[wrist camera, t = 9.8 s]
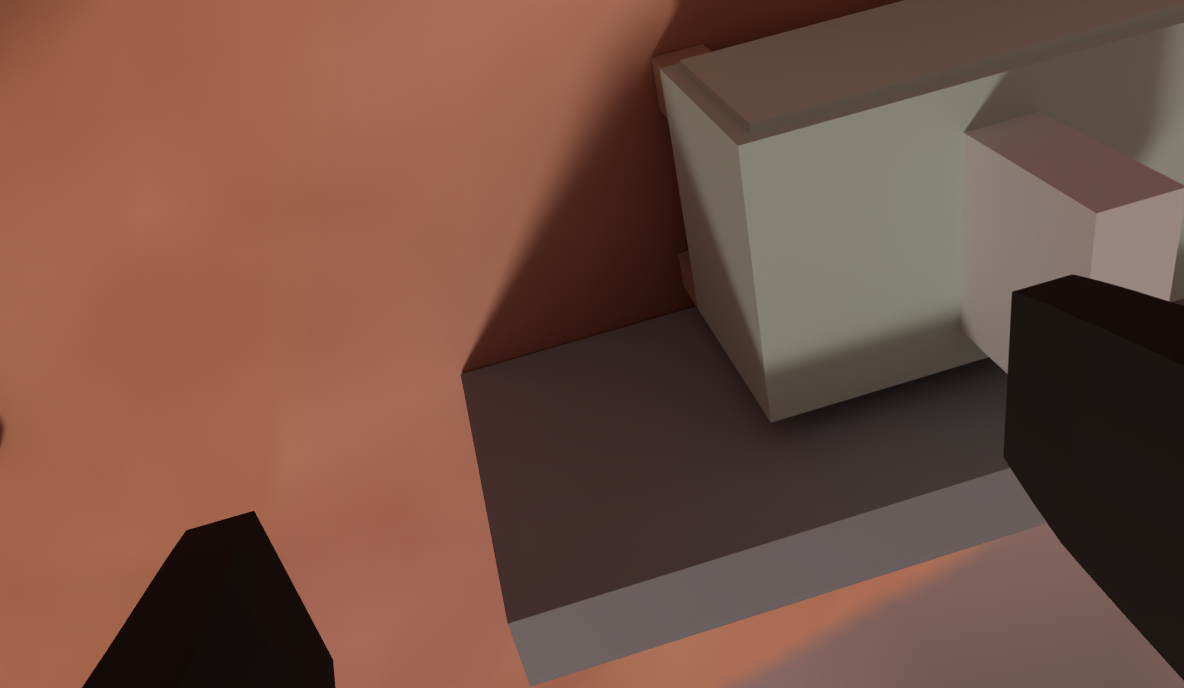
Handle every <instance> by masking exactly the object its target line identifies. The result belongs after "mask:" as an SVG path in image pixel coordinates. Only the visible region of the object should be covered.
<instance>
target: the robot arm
mask: <svg viewBox="0 0 1184 688" xmlns="http://www.w3.org/2000/svg"><path fill="white" fill-rule="evenodd" d="M1003 458H1004V459H1005V461H1006V462H1007V464H1008V465H1009V467H1010V468H1011V470H1012V471H1013V473H1014V474H1015V476H1016V478H1017V479H1018V481H1019V482H1020V484H1021V485H1022V487H1023V488H1024V490H1025V491H1026V493H1027V494H1028V496H1029V497H1030V499H1031V500H1032V502H1033V504H1034V505H1035V506H1036V508H1037V509H1038V511H1039V512H1040V513H1041V515H1042V516H1043V518H1044V519H1045V521H1046V522H1047V523H1048V525H1049V526H1050V528H1051V529H1052V530H1053V532H1054V533H1055V535H1056V536H1057V538H1058V539H1059V540H1060V542H1061V543H1062V544H1063V545H1064V547H1065V548H1066V549H1067V550H1068V551H1069V552H1070V553H1071V555H1072V556H1073V557H1074V558H1075V559H1076V561H1077V562H1078V563H1079V564H1080V565H1081V566H1082V567H1083V569H1084V570H1085V571H1086V572H1087V573H1088V574H1089V575H1090V576H1091V577H1092V579H1093V580H1094V581H1095V582H1096V583H1097V584H1098V585H1099V587H1100V588H1101V589H1102V590H1103V591H1104V592H1105V593H1106V595H1107V596H1108V597H1109V598H1110V599H1111V600H1112V601H1113V602H1114V603H1115V605H1116V606H1117V607H1118V608H1119V609H1120V610H1121V611H1122V613H1123V614H1124V615H1125V616H1126V617H1127V618H1128V619H1129V620H1130V621H1131V622H1132V624H1133V625H1134V626H1135V627H1136V628H1137V629H1138V630H1139V631H1140V632H1141V634H1142V635H1143V636H1144V637H1145V638H1146V639H1147V640H1148V641H1149V642H1150V644H1151V645H1152V646H1153V647H1154V648H1155V649H1156V650H1157V651H1158V652H1159V653H1160V655H1161V656H1162V657H1163V658H1164V659H1165V660H1166V661H1167V662H1168V664H1169V665H1170V666H1171V667H1172V668H1173V669H1174V670H1175V671H1176V672H1177V674H1178V675H1179V676H1180V677H1181V678H1182V679H1183V680H1184V306H1182V305H1179V304H1176V303H1173V302H1170V301H1166V300H1163V299H1160V298H1157V297H1153V296H1150V295H1147V294H1144V293H1140V292H1137V291H1134V290H1130V289H1127V288H1124V287H1120V286H1117V285H1113V284H1110V283H1106V282H1102V281H1099V280H1094V279H1090V278H1086V277H1082V276H1078V275H1073V274H1072V275H1068V276H1065V277H1061V278H1058V279H1054V280H1051V281H1047V282H1044V283H1040V284H1037V285H1034V286H1030V287H1027V288H1023V289H1020V290H1016V291H1013V292H1012V299H1011V318H1010V338H1009V357H1008V377H1007V396H1006V415H1005V435H1004V454H1003ZM82 688H335V678H334V667H333V659H332V657H331V655H330V653H329V651H328V649H327V648H326V646H325V644H324V642H323V640H322V638H321V636H320V634H319V632H318V631H317V629H316V627H315V625H314V623H313V621H312V619H311V617H310V615H309V614H308V612H307V610H306V608H305V606H304V604H303V602H302V600H301V598H300V597H299V595H298V593H297V591H296V589H295V587H294V585H293V583H292V581H291V580H290V578H289V576H288V574H287V572H286V570H285V568H284V566H283V564H282V563H281V561H280V559H279V557H278V555H277V553H276V551H275V549H274V547H273V546H272V544H271V542H270V540H269V538H268V536H267V534H266V532H265V530H264V529H263V527H262V525H261V523H260V521H259V519H258V517H257V515H256V513H255V512H254V511H252V512H248V513H245V514H241V515H238V516H234V517H231V518H227V519H224V520H221V521H217V522H214V523H210V524H207V525H203V526H200V527H196V528H193V529H189V530H186V532H185V533H184V534H183V536H182V537H181V539H180V540H179V542H178V543H177V544H176V546H175V547H174V549H173V550H172V552H171V553H170V555H169V556H168V557H167V559H166V560H165V562H164V564H163V565H162V567H161V568H160V570H159V571H158V573H157V574H156V576H155V577H154V579H153V580H152V582H151V583H150V585H149V586H148V588H147V590H146V591H145V593H144V594H143V596H142V597H141V599H140V600H139V602H138V603H137V605H136V607H135V608H134V610H133V611H132V613H131V614H130V616H129V617H128V619H127V620H126V622H125V624H124V625H123V627H122V628H121V630H120V631H119V633H118V634H117V636H116V637H115V639H114V640H113V642H112V644H111V645H110V647H109V648H108V650H107V651H106V653H105V654H104V656H103V657H102V659H101V660H100V662H99V663H98V665H97V666H96V668H95V669H94V671H93V672H92V674H91V675H90V677H89V678H88V680H87V681H86V683H85V684H84V686H83V687H82Z"/></svg>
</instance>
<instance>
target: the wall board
mask: <svg viewBox="0 0 1184 688" xmlns="http://www.w3.org/2000/svg"><path fill="white" fill-rule="evenodd" d="M1173 303H1176V304H1179V305H1182V306H1184V299H1180V300H1177V301H1174V302H1173ZM1007 377H1008V374H1007V373H1006V372H1005V371H1004V370H1003V369H1002V368H1001V367H999V366H998V365H997V364H996V363H995V362H994V361H993V360H992V359H991V358H990V357H988V358H984V359H981V360H978V361H974V362H971V363H968V364H964V365H961V366H958V367H954V368H951V369H948V370H944V371H941V372H938V373H934V374H931V375H928V376H925V377H921V378H918V379H915V380H911V381H908V382H905V383H901V384H898V385H895V386H891V387H888V388H885V389H881V390H878V391H875V392H871V393H868V394H865V395H861V396H858V397H855V398H851V399H848V400H845V401H841V402H838V403H835V404H831V405H828V406H825V407H821V408H818V409H815V410H812V411H808V412H805V413H802V414H798V415H795V416H792V417H788V418H785V419H782V420H778V421H775V422H772V423H771V422H770V421H769V419H768V417H767V416H766V414H765V413H764V411H763V410H762V408H761V407H760V405H759V403H758V402H757V400H756V399H755V397H754V396H753V394H752V393H751V391H750V389H749V388H748V386H747V385H746V383H745V382H744V380H743V378H742V377H741V375H740V374H739V372H738V371H737V369H736V368H735V366H734V364H733V363H732V361H731V360H730V358H729V357H728V355H727V353H726V352H725V350H724V349H723V347H722V346H721V344H720V343H719V341H718V339H717V338H716V336H715V335H714V333H713V332H712V330H711V329H710V327H709V325H708V324H707V322H706V321H705V319H704V318H703V316H702V314H701V313H700V311H699V310H698V308H697V307H696V306H695V307H692V308H688V309H685V310H681V311H678V312H675V313H671V314H668V315H664V316H661V317H657V318H654V319H650V320H647V321H643V322H640V323H636V324H633V325H630V326H626V327H623V328H619V329H616V330H612V331H609V332H605V333H602V334H598V335H595V336H591V337H588V338H585V339H581V340H578V341H574V342H571V343H567V344H564V345H560V346H557V347H553V348H550V349H546V350H543V351H539V352H536V353H533V354H529V355H526V356H522V357H519V358H515V359H512V360H508V361H505V362H501V363H498V364H494V365H491V366H488V367H484V368H481V369H477V370H474V371H470V372H467V373H463V374H461V378H462V383H463V389H464V394H465V399H466V405H467V410H468V415H469V421H470V426H471V431H472V436H473V442H474V447H475V452H476V458H477V463H478V468H479V474H480V479H481V484H482V490H483V495H484V500H485V505H486V511H487V516H488V521H489V527H490V532H491V537H492V543H493V548H494V553H495V558H496V564H497V569H498V574H499V580H500V585H501V590H502V596H503V601H504V606H505V611H506V617H507V622H508V626H509V628H510V631H511V634H512V637H513V639H514V642H515V645H516V648H517V650H518V653H519V656H520V659H521V661H522V664H523V667H524V670H525V672H526V675H527V678H528V681H529V683H530V686H534V685H537V684H540V683H543V682H546V681H549V680H553V679H556V678H559V677H562V676H565V675H568V674H571V673H575V672H578V671H581V670H584V669H587V668H590V667H594V666H597V665H600V664H603V663H606V662H609V661H613V660H616V659H619V658H622V657H625V656H628V655H632V654H635V653H638V652H641V651H644V650H647V649H651V648H654V647H657V646H660V645H663V644H666V643H669V642H673V641H676V640H679V639H682V638H685V637H688V636H692V635H695V634H698V633H701V632H704V631H707V630H711V629H714V628H717V627H720V626H723V625H726V624H730V623H733V622H736V621H739V620H742V619H745V618H749V617H752V616H755V615H758V614H761V613H764V612H767V611H771V610H774V609H777V608H780V607H783V606H786V605H790V604H793V603H796V602H799V601H802V600H805V599H809V598H812V597H815V596H818V595H821V594H824V593H828V592H831V591H834V590H837V589H840V588H843V587H847V586H850V585H853V584H856V583H859V582H862V581H865V580H869V579H872V578H875V577H878V576H881V575H884V574H888V573H891V572H894V571H897V570H900V569H903V568H907V567H910V566H913V565H916V564H919V563H922V562H926V561H929V560H932V559H935V558H938V557H941V556H944V555H948V554H951V553H954V552H957V551H960V550H963V549H967V548H970V547H973V546H976V545H979V544H982V543H986V542H989V541H992V540H995V539H998V538H1001V537H1005V536H1008V535H1011V534H1014V533H1017V532H1020V531H1024V530H1027V529H1030V528H1033V527H1036V526H1039V525H1042V524H1046V523H1047V522H1046V521H1045V519H1044V518H1043V516H1042V515H1041V513H1040V512H1039V511H1038V509H1037V508H1036V506H1035V505H1034V504H1033V502H1032V500H1031V499H1030V497H1029V496H1028V494H1027V493H1026V491H1025V490H1024V488H1023V487H1022V485H1021V484H1020V482H1019V481H1018V479H1017V478H1016V476H1015V474H1014V473H1013V471H1012V470H1011V468H1010V467H1009V465H1008V464H1007V462H1006V461H1005V459H1004V458H1003V454H1004V435H1005V415H1006V396H1007Z"/></svg>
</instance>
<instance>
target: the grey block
mask: <svg viewBox="0 0 1184 688" xmlns="http://www.w3.org/2000/svg"><path fill="white" fill-rule="evenodd" d="M651 62H652V68H653V74H654V80H655V86H656V93H657V99H658V105H659V110H660V111H661V112H662V113H663V114H664V115H665V117H666V118H667V119H668V124H669V130H670V137H671V143H672V149H673V155H674V162H675V168H676V174H677V181H678V187H679V193H680V199H681V206H682V212H683V218H684V225H685V231H686V237H687V243H688V251H685V252H681V253H678V257H679V263H680V269H681V275H682V281H683V286H684V288H685V290H686V291H687V293H688V294H689V296H690V297H691V299H692V300H693V302H694V304H695V305H696V307H697V308H698V310H699V311H700V313H701V314H702V316H703V318H704V319H705V321H706V322H707V324H708V325H709V327H710V329H711V330H712V332H713V333H714V335H715V336H716V338H717V339H718V341H719V343H720V344H721V346H722V347H723V349H724V350H725V352H726V353H727V355H728V357H729V358H730V360H731V361H732V363H733V364H734V366H735V368H736V369H737V371H738V372H739V374H740V375H741V377H742V378H743V380H744V382H745V383H746V385H747V386H748V388H749V389H750V391H751V393H752V394H753V396H754V397H755V399H756V400H757V402H758V403H759V405H760V407H761V408H762V410H763V411H764V413H765V414H766V416H767V417H768V419H769V421H770V422H771V423H772V422H775V421H778V420H782V419H785V418H788V417H792V416H795V415H798V414H802V413H805V412H808V411H812V410H815V409H818V408H821V407H825V406H828V405H831V404H835V403H838V402H841V401H845V400H848V399H851V398H855V397H858V396H861V395H865V394H868V393H871V392H875V391H878V390H881V389H885V388H888V387H891V386H895V385H898V384H901V383H905V382H908V381H911V380H915V379H918V378H921V377H925V376H928V375H931V374H934V373H938V372H941V371H944V370H948V369H951V368H954V367H958V366H961V365H964V364H968V363H971V362H974V361H978V360H981V359H984V358H988V357H990V358H991V359H992V360H993V361H994V362H995V363H996V364H997V365H998V366H999V367H1001V368H1002V369H1003V370H1004V371H1005V372H1006V373H1007V374H1008V357H1009V338H1010V318H1011V299H1012V292H1013V291H1016V290H1020V289H1023V288H1027V287H1030V286H1034V285H1037V284H1040V283H1044V282H1047V281H1051V280H1054V279H1058V278H1061V277H1065V276H1068V275H1072V274H1073V275H1078V276H1082V277H1086V278H1090V279H1094V280H1099V281H1102V282H1106V283H1110V284H1113V285H1117V286H1120V287H1124V288H1127V289H1130V290H1134V291H1137V292H1140V293H1144V294H1147V295H1150V296H1153V297H1157V298H1160V299H1163V300H1166V301H1170V302H1174V301H1177V300H1180V299H1184V0H903V1H899V2H895V3H892V4H888V5H884V6H880V7H877V8H873V9H869V10H865V11H862V12H858V13H854V14H851V15H847V16H843V17H839V18H836V19H832V20H828V21H824V22H821V23H817V24H813V25H810V26H806V27H802V28H798V29H795V30H791V31H787V32H783V33H780V34H776V35H772V36H769V37H765V38H761V39H757V40H754V41H750V42H746V43H742V44H739V45H735V46H731V47H728V48H724V49H720V50H716V51H713V52H712V51H711V50H710V49H708V48H707V47H706V46H705V45H703V44H701V45H697V46H693V47H689V48H686V49H682V50H678V51H674V52H671V53H667V54H663V55H660V56H656V57H652V58H651Z"/></svg>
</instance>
